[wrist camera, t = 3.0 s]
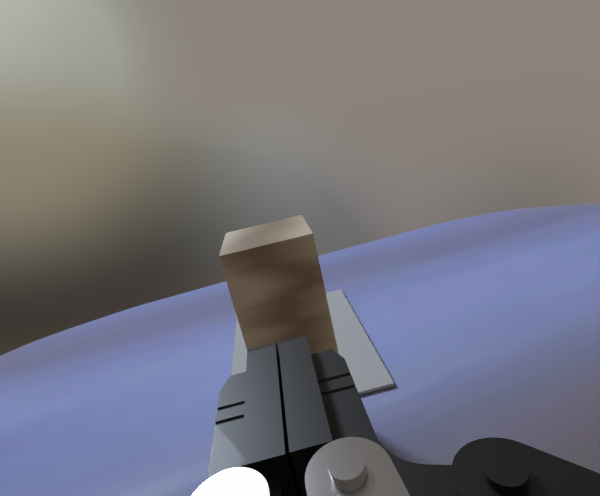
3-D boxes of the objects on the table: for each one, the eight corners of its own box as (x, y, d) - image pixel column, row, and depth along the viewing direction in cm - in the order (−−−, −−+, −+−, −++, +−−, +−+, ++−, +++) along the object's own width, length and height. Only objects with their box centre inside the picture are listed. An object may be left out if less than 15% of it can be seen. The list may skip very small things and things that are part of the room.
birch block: (288, 487, 24) (218, 256, 20) (282, 429, 29) (226, 233, 24) (363, 466, 25) (312, 233, 20) (345, 413, 29) (301, 214, 25)
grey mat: (226, 430, 30) (225, 427, 30) (237, 317, 49) (236, 315, 49) (394, 386, 31) (394, 382, 31) (341, 291, 50) (341, 289, 50)
